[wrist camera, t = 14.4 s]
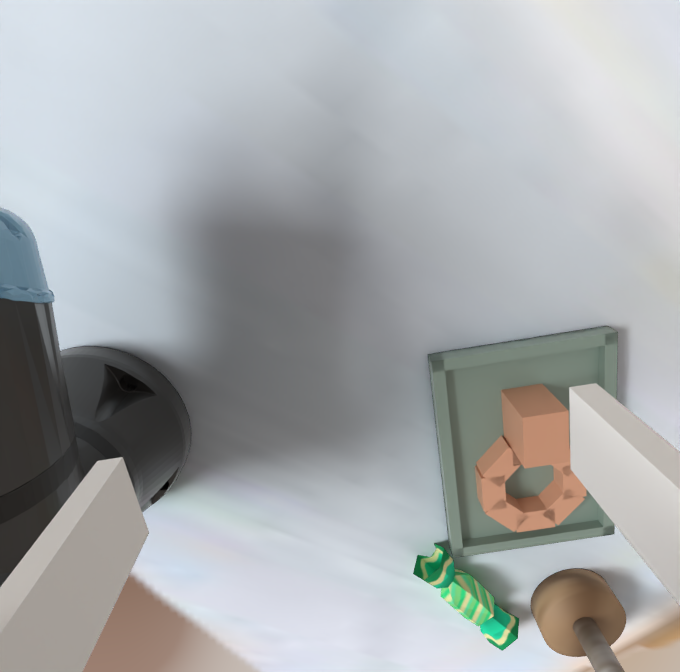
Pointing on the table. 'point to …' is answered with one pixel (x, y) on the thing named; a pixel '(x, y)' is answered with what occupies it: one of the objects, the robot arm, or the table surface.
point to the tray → (487, 426)
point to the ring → (529, 461)
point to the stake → (580, 617)
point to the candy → (468, 597)
